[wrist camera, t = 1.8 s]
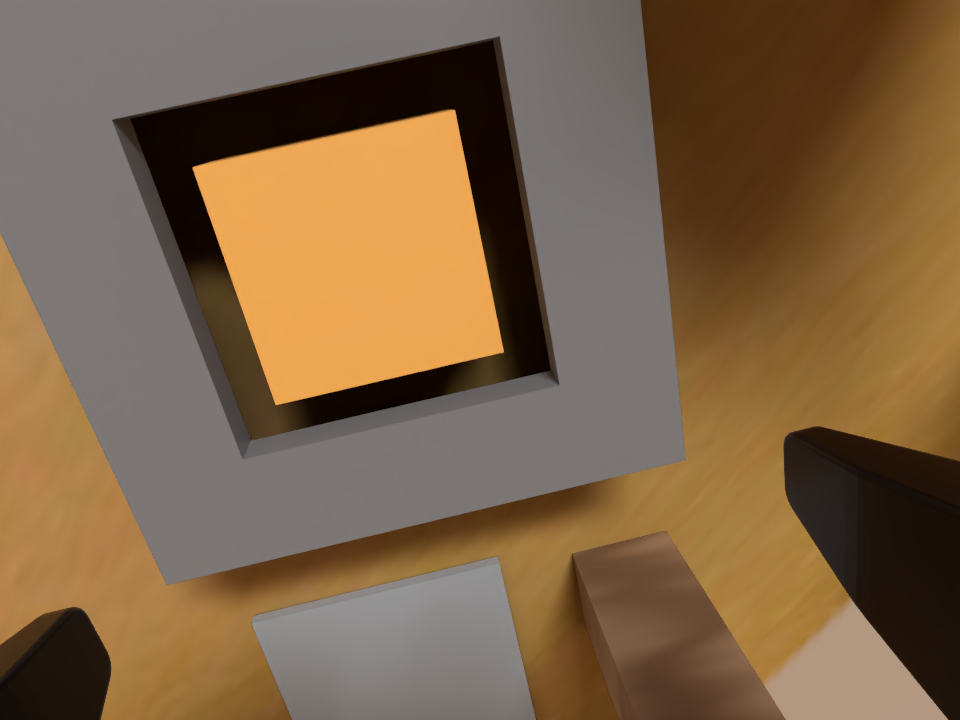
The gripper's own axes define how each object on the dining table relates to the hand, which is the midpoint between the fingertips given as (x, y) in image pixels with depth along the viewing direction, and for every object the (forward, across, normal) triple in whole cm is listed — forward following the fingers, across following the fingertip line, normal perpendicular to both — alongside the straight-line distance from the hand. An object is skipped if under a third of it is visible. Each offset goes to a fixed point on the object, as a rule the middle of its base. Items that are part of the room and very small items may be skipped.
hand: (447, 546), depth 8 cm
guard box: (+13, +1, -2) cm, 13 cm away
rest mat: (+13, +4, +15) cm, 20 cm away
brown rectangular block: (+13, -5, +13) cm, 19 cm away
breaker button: (+11, +1, -2) cm, 11 cm away
